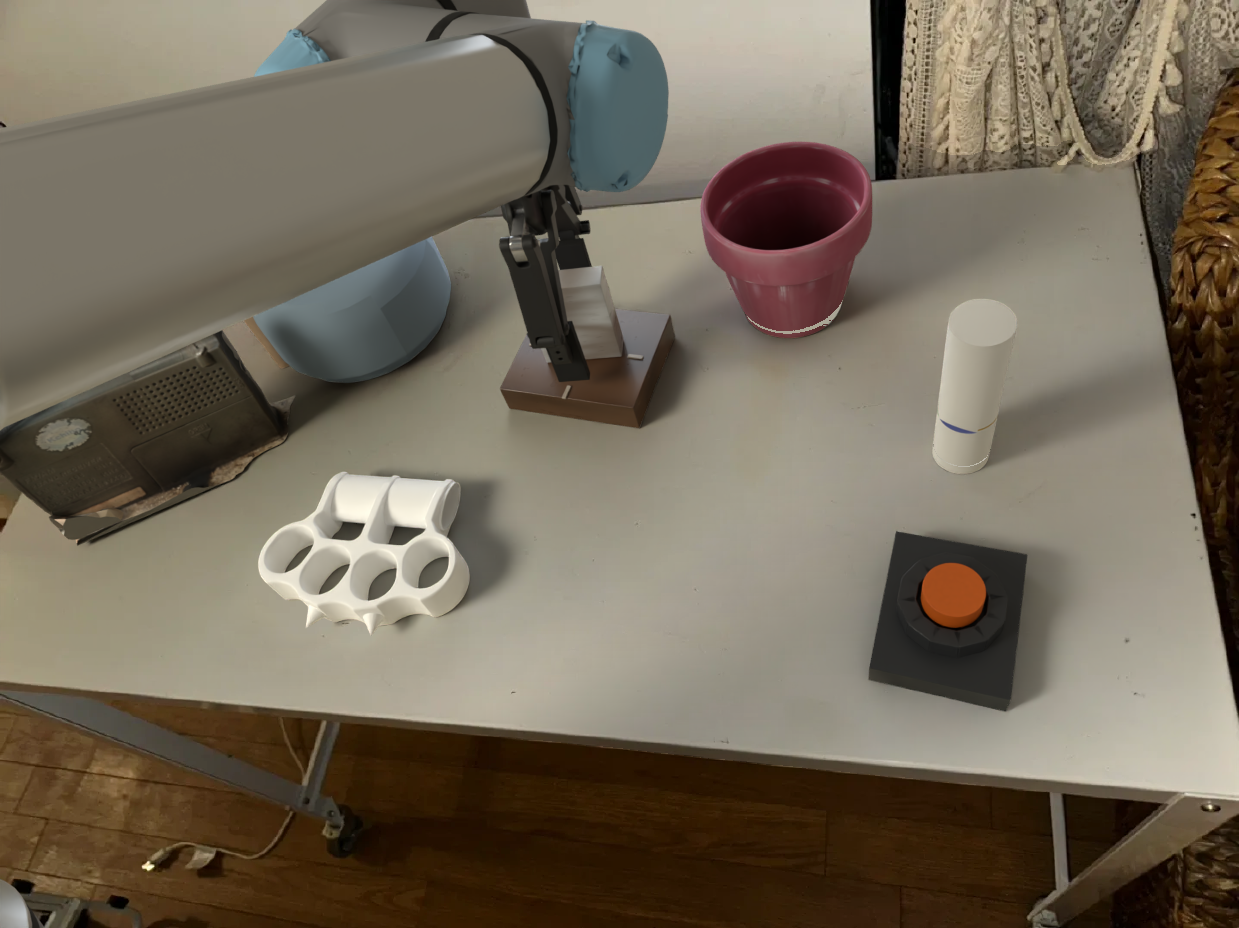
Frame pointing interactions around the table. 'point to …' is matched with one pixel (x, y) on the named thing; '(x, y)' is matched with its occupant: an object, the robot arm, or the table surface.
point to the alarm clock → (361, 318)
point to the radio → (143, 439)
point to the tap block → (596, 376)
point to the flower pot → (788, 231)
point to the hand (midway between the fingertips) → (580, 335)
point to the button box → (945, 656)
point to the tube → (972, 383)
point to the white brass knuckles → (370, 550)
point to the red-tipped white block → (591, 312)
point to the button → (953, 595)
